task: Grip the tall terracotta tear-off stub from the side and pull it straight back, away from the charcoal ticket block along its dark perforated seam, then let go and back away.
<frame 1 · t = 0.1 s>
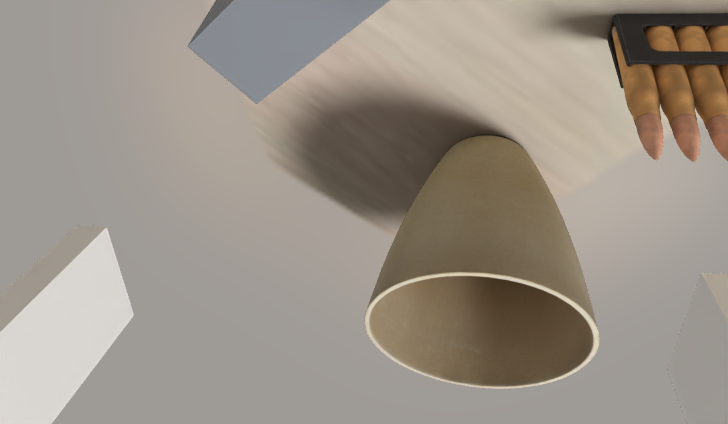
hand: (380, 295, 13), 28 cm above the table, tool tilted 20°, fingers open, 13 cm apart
plant pot: (483, 165, 48), on the table
ammunition clip: (700, 25, 36), on the table
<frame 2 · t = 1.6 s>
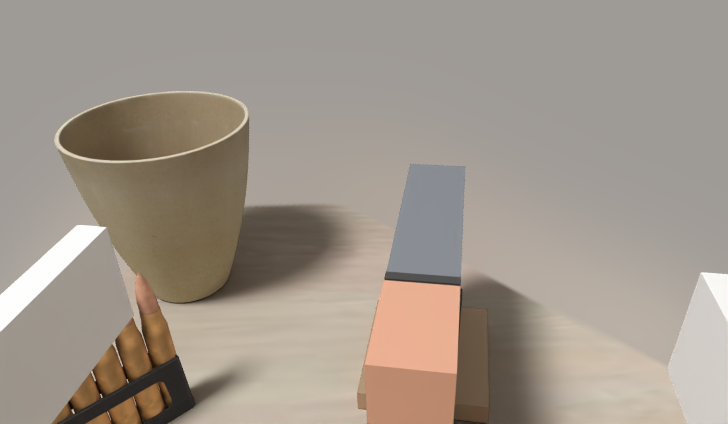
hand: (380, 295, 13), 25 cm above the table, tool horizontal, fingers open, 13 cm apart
plant pot: (192, 279, 55), on the table
ticket block: (425, 372, 43), on the table
stub: (414, 419, 31), point 7 cm above the table, slide at 0.0 cm
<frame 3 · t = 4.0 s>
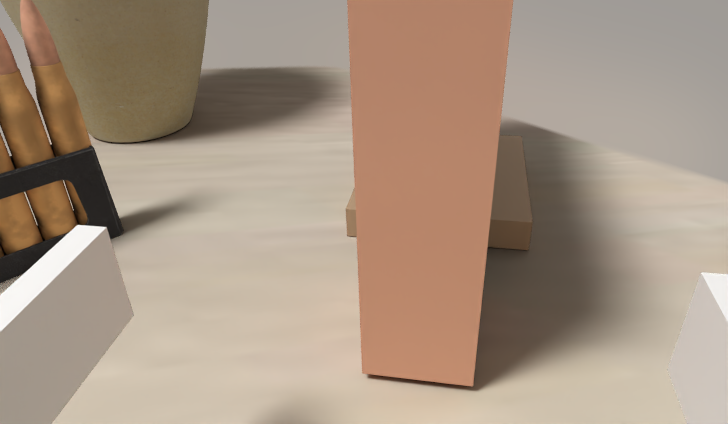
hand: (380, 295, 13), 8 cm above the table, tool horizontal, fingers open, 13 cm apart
plant pot: (145, 125, 43), on the table
ammunition clip: (11, 272, 28), on the table
ticket block: (440, 202, 32), on the table
stub: (430, 169, 20), point 7 cm above the table, slide at 0.0 cm
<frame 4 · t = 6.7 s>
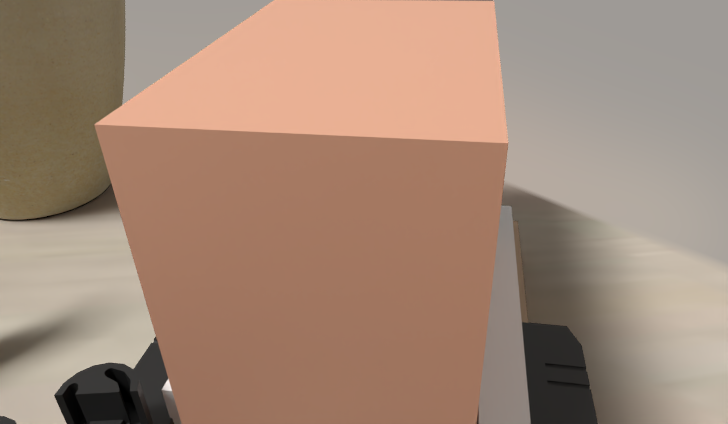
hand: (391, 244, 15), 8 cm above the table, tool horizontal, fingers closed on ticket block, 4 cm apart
plant pot: (53, 191, 35), on the table
ticket block: (410, 322, 24), on the table
stub: (363, 395, 12), point 7 cm above the table, slide at 0.0 cm
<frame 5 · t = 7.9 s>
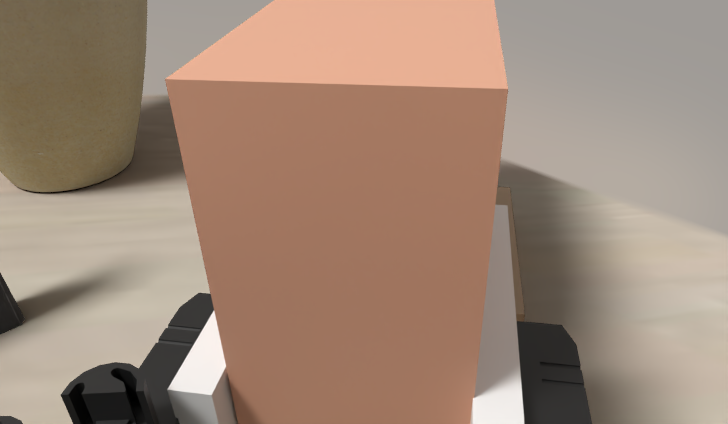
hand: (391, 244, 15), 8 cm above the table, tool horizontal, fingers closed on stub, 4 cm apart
plant pot: (78, 168, 38), on the table
ticket block: (414, 274, 27), on the table
stub: (375, 344, 13), point 7 cm above the table, slide at 1.8 cm, touching gripper
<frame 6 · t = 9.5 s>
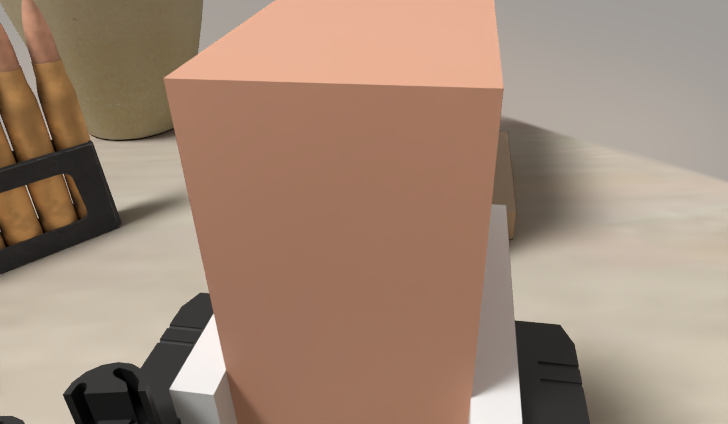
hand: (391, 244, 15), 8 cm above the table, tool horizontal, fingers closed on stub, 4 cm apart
plant pot: (141, 123, 44), on the table
ammunition clip: (12, 263, 29), on the table
ticket block: (429, 194, 33), on the table
stub: (375, 344, 13), point 7 cm above the table, slide at 9.4 cm, touching gripper
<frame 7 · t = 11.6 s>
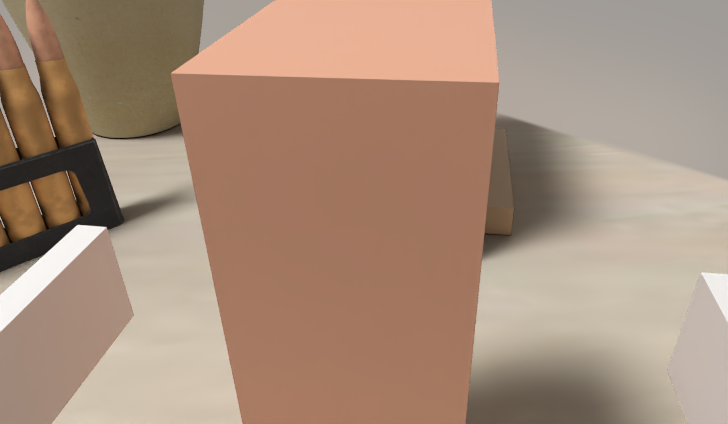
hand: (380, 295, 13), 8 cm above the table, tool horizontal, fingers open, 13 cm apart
plant pot: (142, 121, 44), on the table
ammunition clip: (16, 259, 29), on the table
ticket block: (428, 191, 33), on the table
stub: (375, 337, 13), point 7 cm above the table, slide at 9.6 cm
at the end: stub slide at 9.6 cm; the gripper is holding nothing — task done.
